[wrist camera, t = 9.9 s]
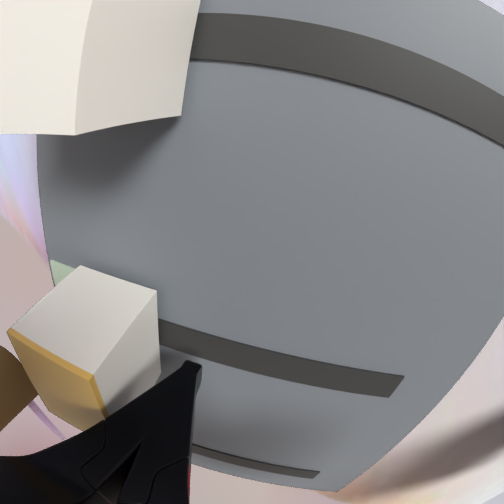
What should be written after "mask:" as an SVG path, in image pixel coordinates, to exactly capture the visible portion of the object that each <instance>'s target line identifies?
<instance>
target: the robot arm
mask: <svg viewBox="0 0 504 504" xmlns="http://www.w3.org/2000/svg"><path fill="white" fill-rule="evenodd" d="M201 380H202V365H201V364H198V363H195V362H193V361H190V360H185V361H184V363H183V364H182V365H181V367H180V368H179V369H177V370H176V371H174V372H173V373H172V374H170V375H169V376H167V377H166V378H164V379H163V380H162V381H160V382H159V383H157V384H156V385H154V386H153V387H151V388H150V389H148V390H147V391H146V392H144V393H143V394H141V395H140V396H138V397H137V398H135V399H134V400H132V401H131V402H129V403H128V404H126V405H125V406H123V407H122V408H120V409H119V410H117V411H116V412H114V413H112V414H111V415H109V416H108V417H106V418H105V420H101V421H100V422H98V423H97V424H95V425H94V426H92V427H90V428H89V429H87V430H85V431H83V432H82V433H80V434H78V435H76V436H74V437H71V438H69V439H67V440H65V441H63V442H61V443H58V444H56V445H54V446H51V447H49V448H47V449H44V450H42V451H39V452H37V453H34V454H30V455H25V456H0V504H189V495H190V473H191V456H192V440H193V426H194V413H195V401H196V395H197V392H198V390H199V387H200V384H201Z"/></svg>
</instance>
